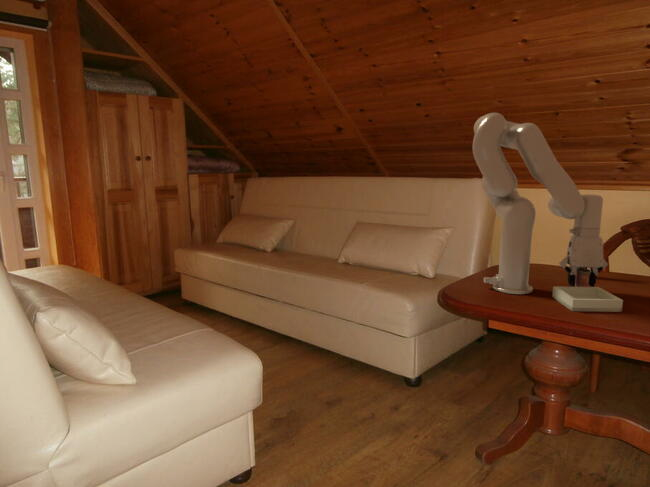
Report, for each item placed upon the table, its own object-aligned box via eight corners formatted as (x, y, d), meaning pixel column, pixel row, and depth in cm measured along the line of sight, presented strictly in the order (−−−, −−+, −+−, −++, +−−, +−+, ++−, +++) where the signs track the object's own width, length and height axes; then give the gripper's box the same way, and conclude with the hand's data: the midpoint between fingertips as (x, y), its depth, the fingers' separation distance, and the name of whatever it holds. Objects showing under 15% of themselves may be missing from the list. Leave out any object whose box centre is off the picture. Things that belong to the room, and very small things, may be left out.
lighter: (590, 294, 151) (593, 265, 149) (579, 294, 152) (582, 264, 150) (582, 288, 159) (584, 259, 157) (571, 287, 160) (574, 259, 158)
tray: (571, 311, 136) (573, 299, 135) (552, 296, 149) (553, 286, 149) (621, 311, 135) (623, 300, 134) (597, 297, 148) (598, 286, 148)
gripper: (564, 234, 149) (559, 288, 152) (620, 234, 147) (614, 289, 151) (554, 230, 156) (550, 282, 159) (607, 230, 155) (602, 283, 158)
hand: (581, 285), depth 155 cm, fingers open, 5 cm apart
